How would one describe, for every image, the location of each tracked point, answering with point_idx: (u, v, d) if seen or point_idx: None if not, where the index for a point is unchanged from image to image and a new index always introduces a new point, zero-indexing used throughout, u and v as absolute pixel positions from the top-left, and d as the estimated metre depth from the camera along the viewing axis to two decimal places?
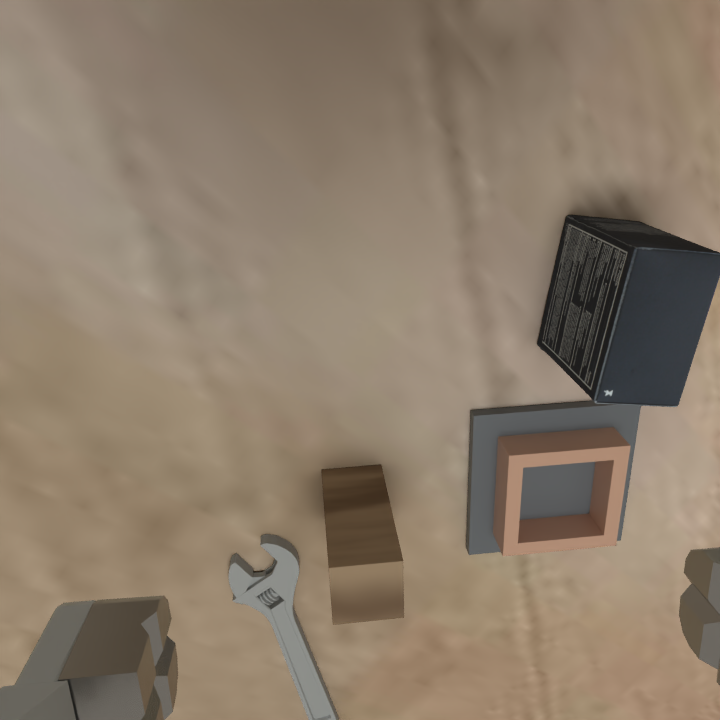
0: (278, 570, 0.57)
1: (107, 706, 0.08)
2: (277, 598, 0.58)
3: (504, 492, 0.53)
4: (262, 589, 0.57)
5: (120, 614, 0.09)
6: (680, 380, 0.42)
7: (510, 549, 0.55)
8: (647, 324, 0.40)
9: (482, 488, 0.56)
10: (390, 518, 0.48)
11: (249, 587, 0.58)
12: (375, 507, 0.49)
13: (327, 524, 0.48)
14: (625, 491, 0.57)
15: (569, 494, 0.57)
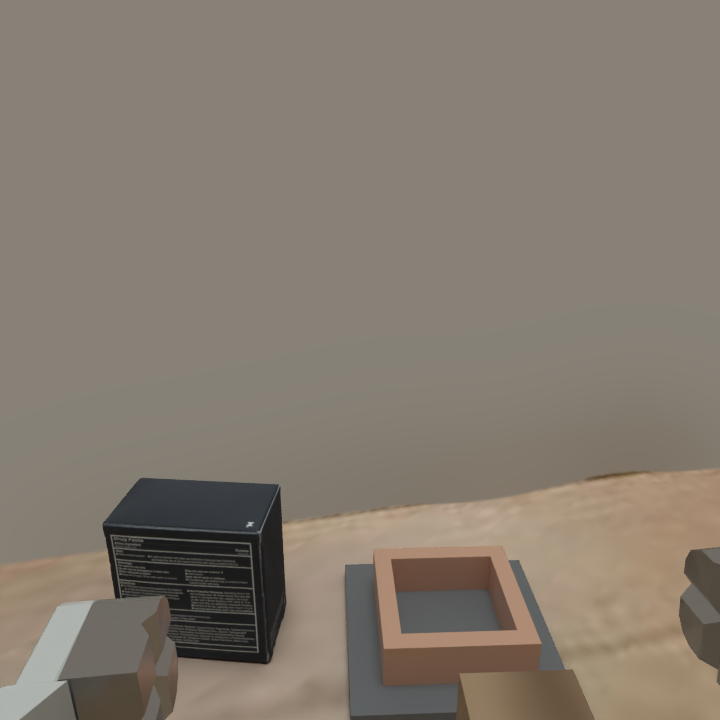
0: None
1: (107, 706, 0.08)
2: None
3: (445, 654, 0.40)
4: None
5: (120, 614, 0.09)
6: (251, 486, 0.46)
7: (528, 636, 0.41)
8: (183, 508, 0.43)
9: None
10: None
11: None
12: None
13: None
14: None
15: (463, 608, 0.48)
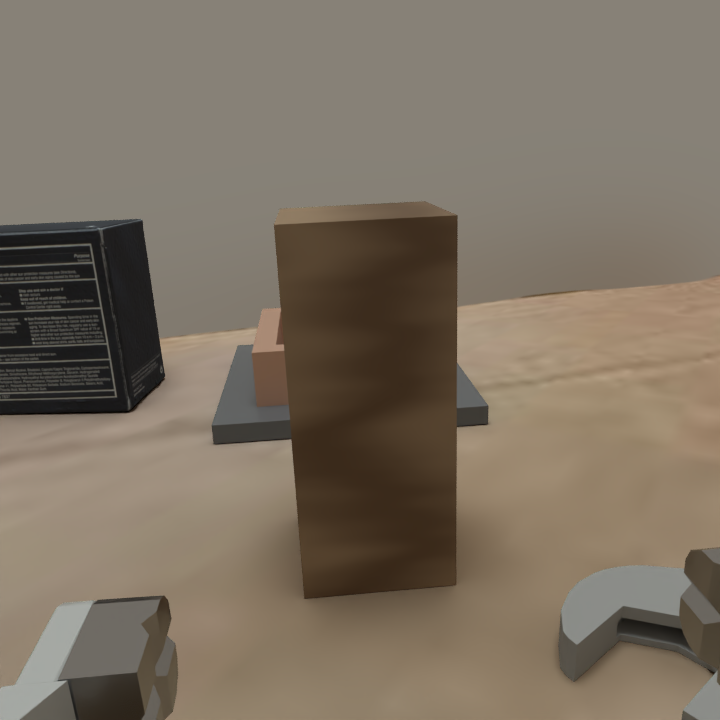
0: (656, 602, 0.19)
1: (107, 706, 0.08)
2: None
3: None
4: None
5: (120, 614, 0.09)
6: None
7: None
8: (18, 226, 0.37)
9: None
10: None
11: None
12: None
13: (287, 384, 0.19)
14: None
15: None
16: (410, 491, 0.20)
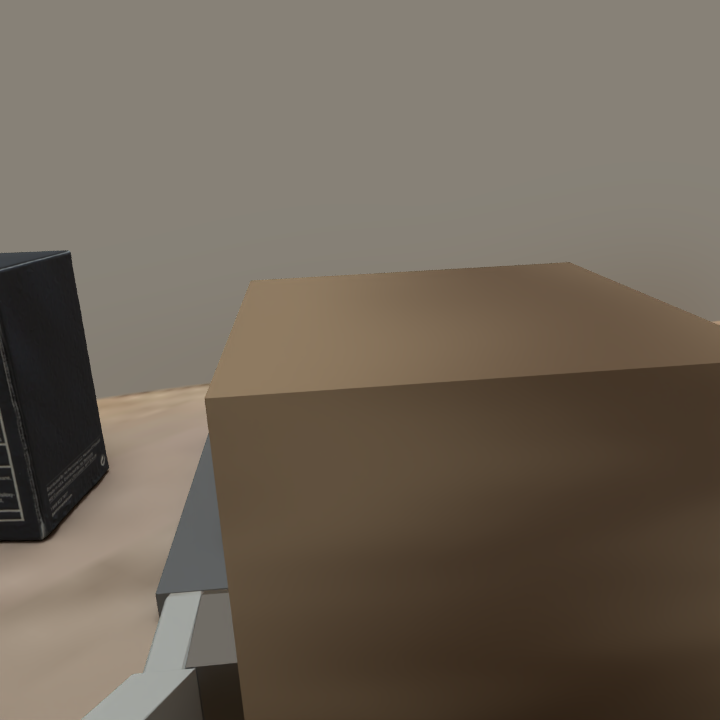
0: None
1: (231, 694, 0.08)
2: None
3: None
4: None
5: None
6: (21, 252, 0.27)
7: None
8: None
9: None
10: None
11: None
12: None
13: None
14: None
15: None
16: None
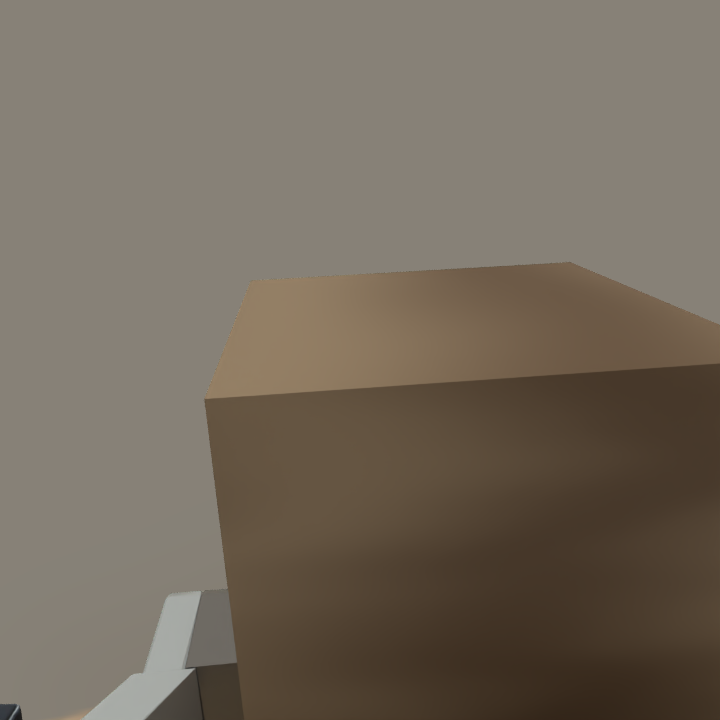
0: None
1: (231, 694, 0.08)
2: None
3: None
4: None
5: None
6: None
7: None
8: None
9: None
10: None
11: None
12: None
13: None
14: None
15: None
16: None
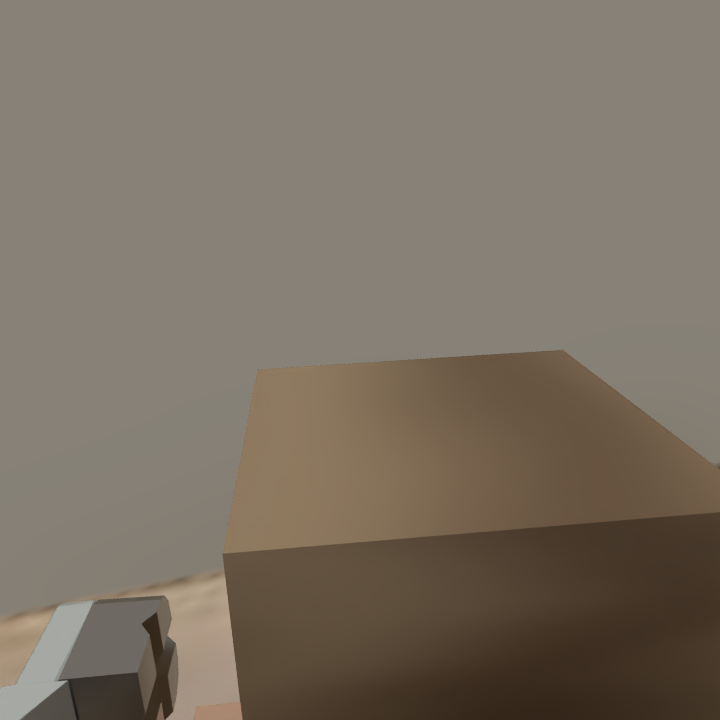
0: None
1: (107, 706, 0.08)
2: None
3: None
4: None
5: (120, 614, 0.09)
6: None
7: None
8: None
9: None
10: None
11: None
12: None
13: None
14: None
15: None
16: None
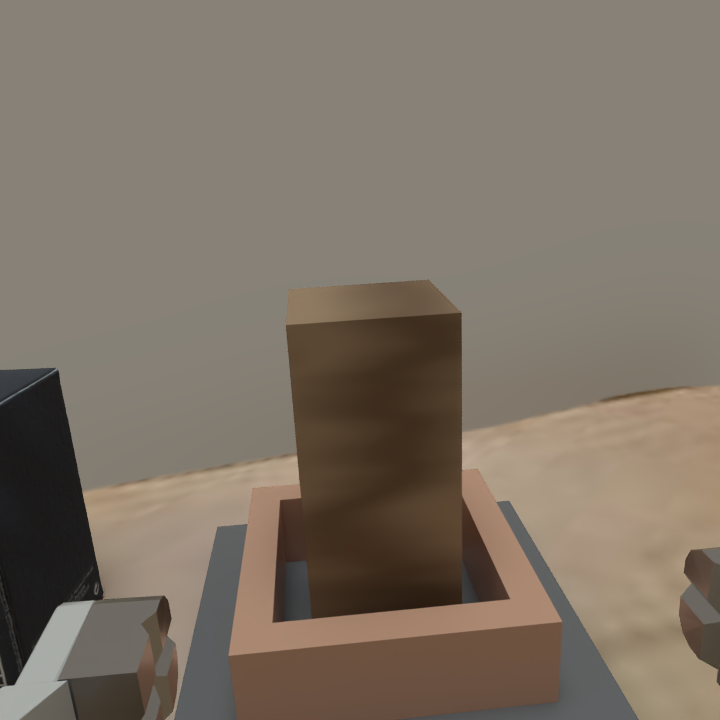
0: None
1: (107, 706, 0.08)
2: None
3: (362, 658, 0.19)
4: None
5: (120, 614, 0.09)
6: (3, 372, 0.25)
7: (534, 610, 0.20)
8: None
9: None
10: None
11: None
12: None
13: (299, 471, 0.20)
14: None
15: None
16: (417, 568, 0.21)
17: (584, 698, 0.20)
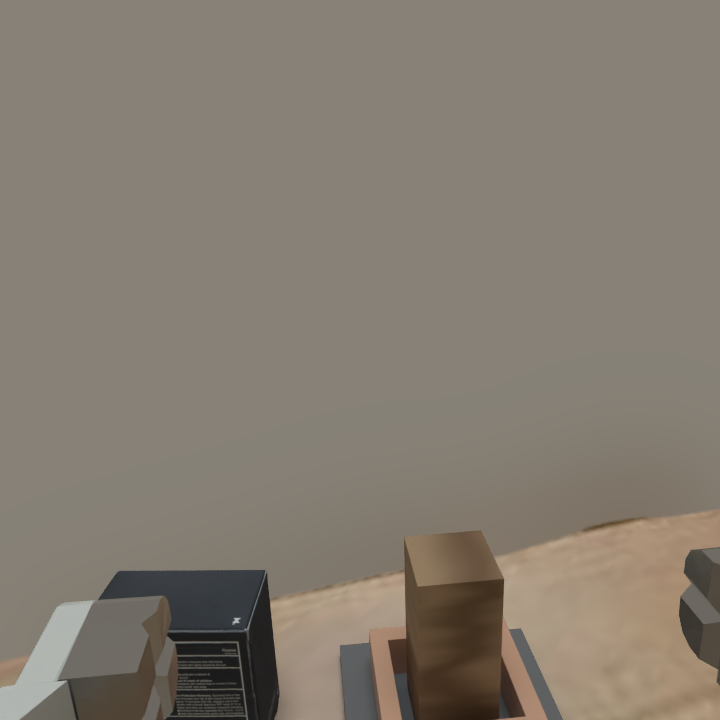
0: None
1: (107, 706, 0.08)
2: None
3: None
4: None
5: (120, 614, 0.09)
6: (236, 573, 0.43)
7: None
8: None
9: None
10: (405, 600, 0.43)
11: None
12: (408, 629, 0.43)
13: (418, 651, 0.39)
14: None
15: None
16: (476, 697, 0.40)
17: None
